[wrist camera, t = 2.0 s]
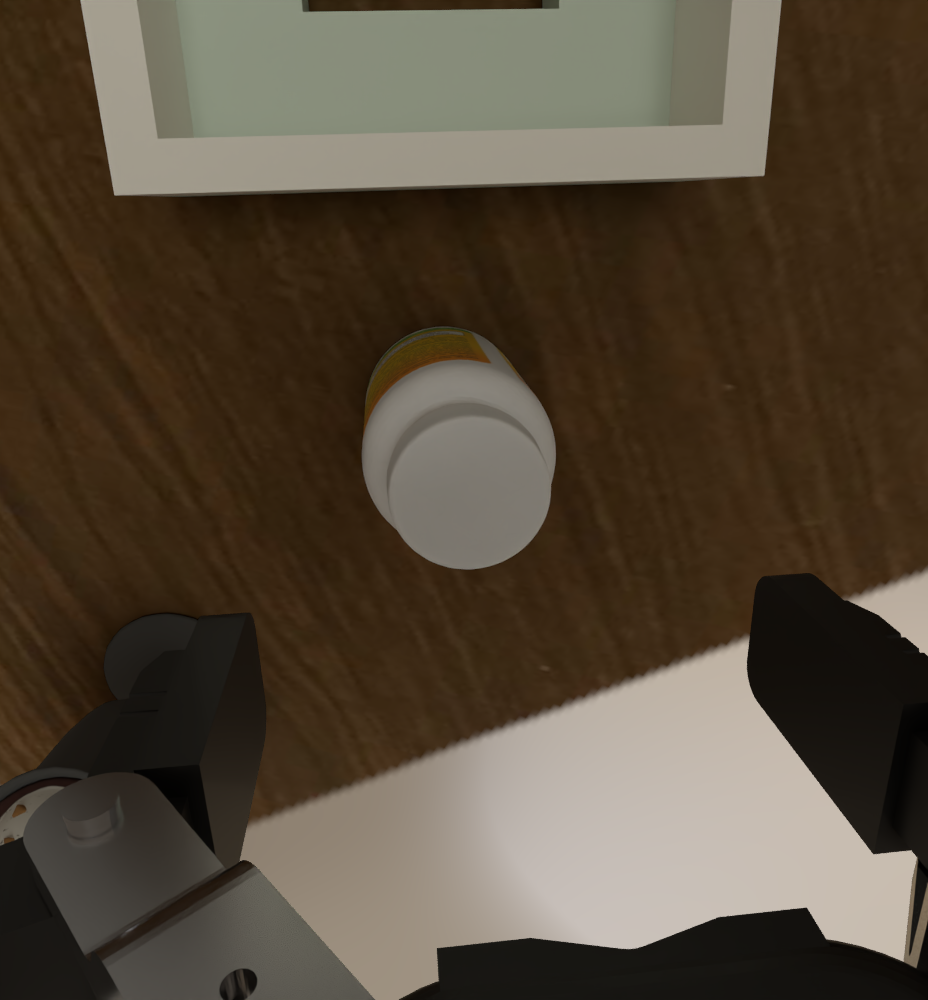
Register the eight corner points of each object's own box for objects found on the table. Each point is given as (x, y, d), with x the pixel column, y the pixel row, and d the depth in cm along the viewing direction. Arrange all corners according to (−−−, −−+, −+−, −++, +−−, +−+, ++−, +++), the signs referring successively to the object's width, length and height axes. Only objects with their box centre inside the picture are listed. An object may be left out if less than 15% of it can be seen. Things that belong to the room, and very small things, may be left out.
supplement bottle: (338, 429, 28) (316, 539, 19) (413, 294, 27) (427, 342, 18) (469, 498, 29) (506, 630, 20) (546, 372, 28) (623, 455, 19)
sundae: (138, 558, 29) (-89, 892, 15) (291, 652, 31) (215, 1023, 17) (46, 683, 30) (-241, 1094, 16) (197, 765, 32) (56, 1193, 18)
